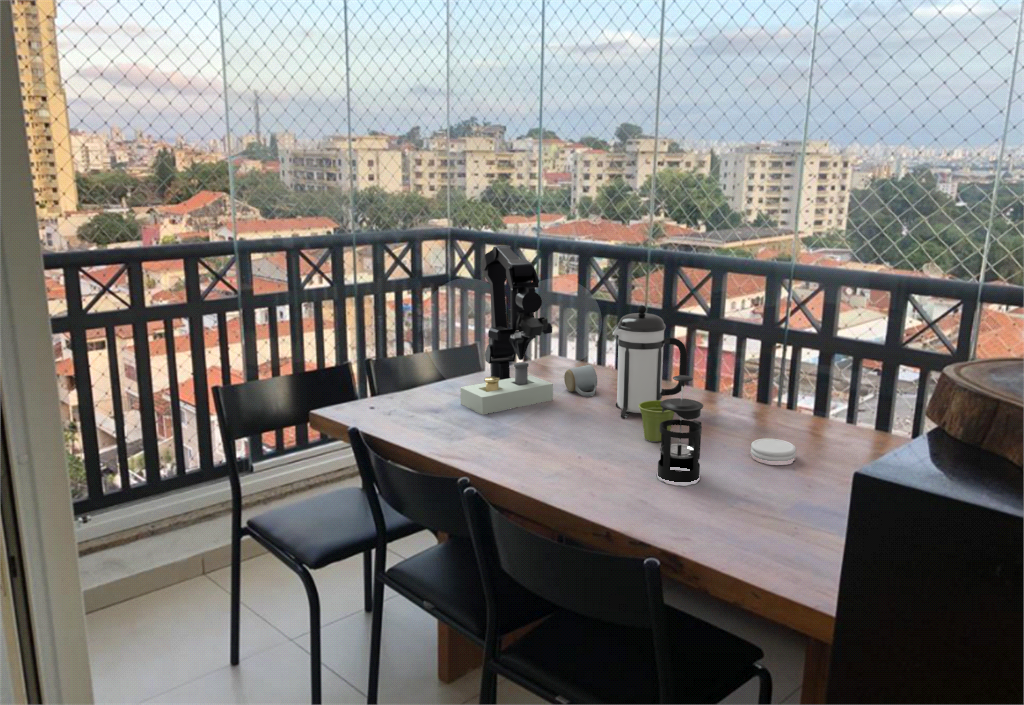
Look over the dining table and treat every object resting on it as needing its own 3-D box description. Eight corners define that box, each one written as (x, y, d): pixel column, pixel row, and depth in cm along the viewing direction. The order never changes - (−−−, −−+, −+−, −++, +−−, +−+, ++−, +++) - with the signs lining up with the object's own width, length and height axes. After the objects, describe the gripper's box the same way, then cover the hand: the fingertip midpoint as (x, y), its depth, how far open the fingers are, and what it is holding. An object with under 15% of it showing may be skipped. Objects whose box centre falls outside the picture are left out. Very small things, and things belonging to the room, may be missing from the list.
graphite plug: (511, 388, 231) (511, 363, 229) (523, 386, 233) (523, 361, 231) (519, 392, 227) (519, 366, 225) (531, 389, 230) (531, 364, 228)
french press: (680, 490, 166) (685, 385, 161) (645, 477, 173) (649, 376, 168) (713, 476, 174) (719, 375, 168) (679, 464, 181) (683, 367, 175)
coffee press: (645, 425, 207) (649, 313, 200) (600, 411, 219) (602, 305, 212) (685, 412, 218) (690, 305, 211) (640, 399, 230) (644, 297, 223)
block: (460, 404, 227) (460, 387, 225) (529, 390, 239) (529, 374, 238) (482, 414, 217) (482, 397, 216) (552, 400, 230) (553, 383, 228)
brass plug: (482, 403, 226) (481, 377, 224) (494, 401, 228) (494, 375, 226) (490, 407, 223) (489, 381, 221) (502, 404, 225) (502, 378, 223)
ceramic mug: (562, 389, 241) (562, 364, 239) (586, 385, 244) (587, 362, 242) (578, 399, 231) (578, 373, 229) (602, 395, 234) (603, 370, 232)
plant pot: (630, 439, 197) (631, 406, 195) (651, 429, 204) (652, 397, 202) (662, 448, 191) (663, 413, 189) (682, 438, 198) (684, 405, 196)
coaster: (765, 469, 178) (766, 454, 177) (741, 453, 188) (742, 439, 187) (804, 464, 181) (805, 450, 180) (778, 449, 190) (779, 435, 189)
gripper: (508, 314, 213) (508, 370, 216) (564, 307, 223) (563, 360, 226) (486, 308, 222) (487, 362, 226) (541, 301, 232) (541, 353, 235)
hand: (520, 359), depth 228 cm, fingers closed
